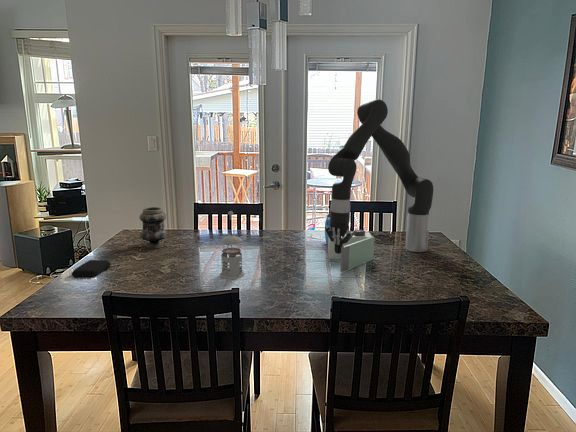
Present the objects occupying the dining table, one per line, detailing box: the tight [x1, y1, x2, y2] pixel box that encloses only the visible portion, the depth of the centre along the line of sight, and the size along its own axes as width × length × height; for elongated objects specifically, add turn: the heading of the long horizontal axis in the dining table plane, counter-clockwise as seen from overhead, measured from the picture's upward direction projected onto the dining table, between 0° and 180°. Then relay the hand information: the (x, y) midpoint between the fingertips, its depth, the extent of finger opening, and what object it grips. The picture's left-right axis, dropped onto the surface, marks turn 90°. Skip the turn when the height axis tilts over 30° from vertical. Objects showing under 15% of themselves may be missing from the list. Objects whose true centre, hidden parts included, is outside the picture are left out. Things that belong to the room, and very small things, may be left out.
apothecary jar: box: [139, 206, 168, 250], centre depth 198 cm, size 12×12×18 cm
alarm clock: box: [324, 212, 331, 246], centre depth 202 cm, size 13×6×15 cm, turn 5°
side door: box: [340, 235, 375, 273], centre depth 173 cm, size 22×1×10 cm, turn 137°
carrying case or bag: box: [71, 259, 112, 279], centre depth 166 cm, size 11×3×15 cm
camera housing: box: [327, 229, 373, 260], centre depth 185 cm, size 18×8×12 cm, turn 88°
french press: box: [219, 210, 246, 280], centre depth 162 cm, size 10×12×25 cm
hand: (338, 253), depth 168 cm, fingers closed
